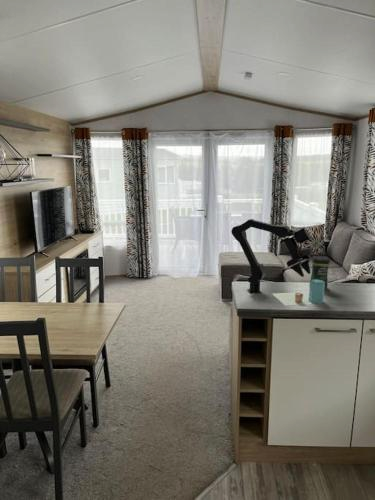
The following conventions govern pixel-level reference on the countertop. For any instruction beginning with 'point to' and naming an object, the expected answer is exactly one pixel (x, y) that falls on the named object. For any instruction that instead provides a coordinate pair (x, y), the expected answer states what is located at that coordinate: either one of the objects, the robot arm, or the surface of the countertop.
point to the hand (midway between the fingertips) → (306, 275)
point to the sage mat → (289, 299)
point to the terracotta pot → (298, 297)
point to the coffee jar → (320, 269)
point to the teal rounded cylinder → (316, 291)
